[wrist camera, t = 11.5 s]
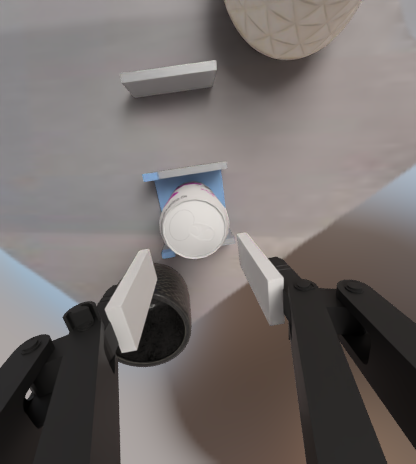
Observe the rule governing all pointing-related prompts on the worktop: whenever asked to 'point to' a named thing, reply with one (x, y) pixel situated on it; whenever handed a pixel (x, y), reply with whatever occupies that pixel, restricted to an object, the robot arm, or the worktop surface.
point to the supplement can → (194, 221)
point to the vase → (290, 24)
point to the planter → (163, 322)
